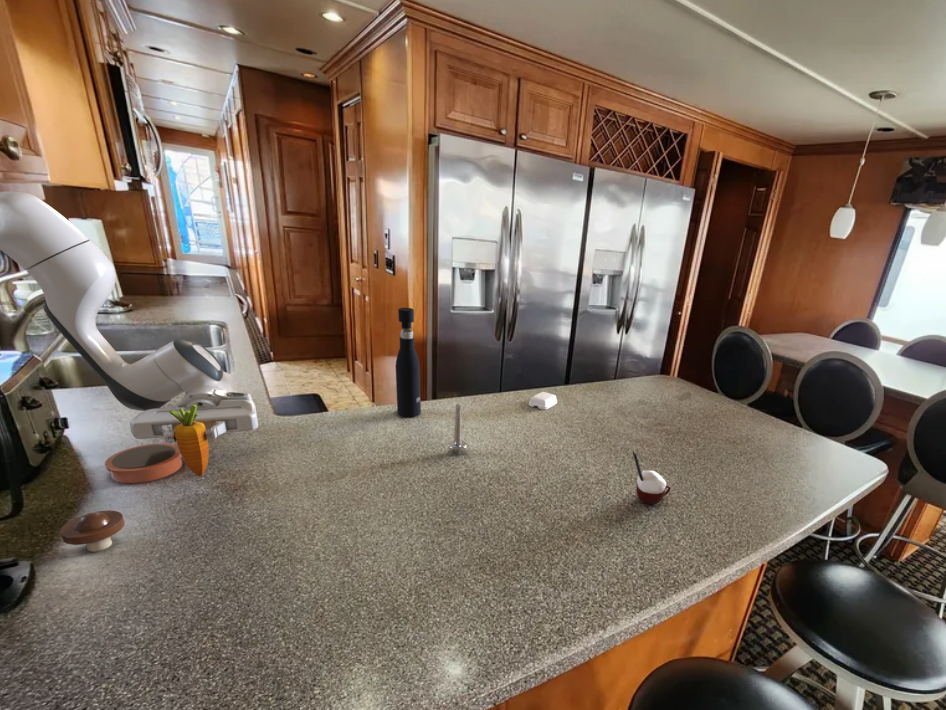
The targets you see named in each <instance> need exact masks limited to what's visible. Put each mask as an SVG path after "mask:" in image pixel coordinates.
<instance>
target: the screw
mask: <svg viewBox="0 0 946 710" xmlns="http://www.w3.org/2000/svg"><path fill="white" fill-rule="evenodd" d="M453 418H454V419H453V424H454V425H453V429H454V430H453V439H452V440H451V441H449V442H447V448H448V449H450V450H452V454H453V455H457V456H459V455H463V454H464V450H466V449H467V448H468V445H469V444H468V443H467V442H466V441H465V440H462V439H463V437H462V432H463V431H462V430H463V429H462V428H463V424H462V423H463V422H462V421H463V415H462V406H461V404H459V403H456V404H455V412H454V416H453Z"/></svg>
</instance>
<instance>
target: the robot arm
mask: <svg viewBox="0 0 946 710" xmlns="http://www.w3.org/2000/svg"><path fill="white" fill-rule="evenodd" d="M0 251H1V252H2V253H4V254H6V255H7V256H8V257H9V258H11V259H12V260H13V261H14V262H15V263H16V264H18V266H20V267H21V268H22V269H23V270H24V271H26V272H27V274H29V275H30V277H32V278H33V279H34V281H35V282H36V283H37V284H38V286H39V288H40V289H41V291H42V293H43V295H44V298H45V301H44V303H43V310H44V313H45V314H46V316H47V317H48V319H49V320H50V322H51V323H52V324H53V326H54V327H55V328H56V329H57V330H58V332H59V333H60V334H61V335H62V336H63V337H64V339H65V340H66V341H67V343H69V344H70V346H72V347H73V348H74V350H76V352H77V353H78V354H79V355H80V356H81V358H82V359H84V361H86V363H88V365H89V366H90V367H91V368H92V370H94V372H95V373H96V374H97V375H98V376H99V377H100V378H101V379H102V381H103V382H104V384H105V385H106V387H107V388H108V390H109V391H110V392H111V394H112V395H113V396H114V398H115V399H116V400H117V401H118V402H119V403H120V405H122V406H124V407H126V408H127V409H129V410H133V411H139V412H140V411H141V412H140V413H138V414H137V415H136V416H135V417H133V418H132V419H131V420H130V422H129V427H130V431H131V434H132V436H133V438H135V439H137V440H146V439H159V438H164V442H165V444H170V443H177V441H176V437H175V427H176V426H177V425H179V424H182V423H181V422H180V421H179V420H178V419H177V418H176V417H174V416H173V415H172V414H170V413H169V412H170V411H171V410H174V411H176V412H177V413H178V414H179V415H180V416H181V414H180V412H179V409H180V408H182V409H183V411H184V413H185V412H186V410H189V411H190V409H191V406H192V405H196V406H197V409H196V413H198V416H197V417H196V418H195V420H194V421H195V422H201V423H203V424H204V425H205V429H206V431H205V435H206V439H207V440H215V439H217V437H218V436H220V435H223V434H226V433H235V432H247V431H248V432H249V431H255V430H257V429H259V419H258V413H257V407H256V404H255V402H254V400H253V397H252V395H251V394H250V393H247V392H238V391H239V390H238V386H237V383H236V381H235V379H234V378H233V377H232V375H230V374H229V373H227V372H226V371H224V369H223V366H222V364H221V362H220V361H219V360H218V359H217V357H216V356H215V355H214V354H213V353H212V352H211V351H210V350H209V349H207V348H206V347H205V346H203V345H201V344H199V343H198V342H197V343H196V342H193V341H189V340H187V339H186V340H185V339H174V340H173V341H170V342H168V343H167V344H165V345H163V346H161V347H159V348H157V349H156V350H154V352H151V353H149V354H148V355H146V356H144V357H143V358H140V359H139V360H137V361H135V362H133V363H128V362H126V361H125V360H124V359H123V358H122V357H121V355H119V354H118V351H116V350H115V349H114V348H113V347H112V345H111V344H110V343H109V342H108V340H106V338H105V337H104V335H102V333H101V332H100V331H99V329H98V327H97V323H96V321H97V316H98V313H99V311H100V310H101V308H102V306H103V305H104V304H105V303H106V301H107V300H108V298H109V297H110V296H111V294H112V292H113V290H114V288H115V285H116V279H117V273H116V269H115V267H114V264H113V263H112V262H111V260H110V259H109V258H108V256H107V255H106V254H105V253H104V252H103V251H102V250H101V248H99V247H98V246H97V245H96V244H95V243H94V242H93V241H92V240H91V239H90V238H89V237H88V236H87V235H86V234H84V233H83V231H81V230H80V229H79V228H78V227H77V226H76V225H74V223H72V222H71V221H70V220H69V219H67V217H65V216H64V215H62V214H61V213H60V212H59V211H57V210H56V209H54V208H53V207H52V206H51V205H49V204H48V203H46V202H45V201H44V200H42V199H41V198H39V197H37V196H36V195H34V194H32V193H30V192H25V191H19V190H7V191H0ZM183 393H184V396H183V397H182V399H181V400H180V402H179V403H178V406H177V407H176V406H175V407H174V406H173V407H164V406H165V405H166V404H168V403H169V402H170V401H171V400H173V399H174V398H177V397H178V396H180V395H181V394H183ZM196 413H195V414H196ZM181 417H182V416H181Z"/></svg>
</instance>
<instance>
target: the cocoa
mask: <svg viewBox="0 0 946 710" xmlns="http://www.w3.org/2000/svg"><path fill="white" fill-rule="evenodd" d="M632 456H633V459H634V463H635V467H636V470H637V474H638V475H637V478H636V489H635V490H636V495H637V497H638V499H639V501H641V502H642V503H644V504H645V505H656V504H659V503H660V502H661V501H662V500H663V498H664V497H665V496H666V495H668V494H669V493H670V491H671V486H670V485H668V484H667V482H666V480H665V479H664V478H663V476H662V475H660V474H659V473H658V472H657V471H654V470H641V469H642V468H641V465H640V462H639V458H638V455H637V452H636V451H635V450H632ZM666 489H667V490H666Z"/></svg>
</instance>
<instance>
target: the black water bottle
mask: <svg viewBox="0 0 946 710" xmlns="http://www.w3.org/2000/svg"><path fill="white" fill-rule="evenodd" d="M397 311H398V313H397V314H398V322H399V323H401V330H400V331H399V334H400V335H399V336H400V337H399V349H398V352H397V354H396V360H395V384H396V409H397V410H396V411H397V412H396V413H397V415H398V416H399V417H402V418H407V419H409V418H416V417H418V416H420V415H421V414H422V406H421V405H422V402H421V401H422V400H421V399H422V398H421V364H420V360H419V356H418V353H417V351H416V348H415V337H414V331H413V330H412V329H413V328H412V323H414V322H415V313H414V311H415V310H414V308H410V307H399V308H398V310H397Z"/></svg>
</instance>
